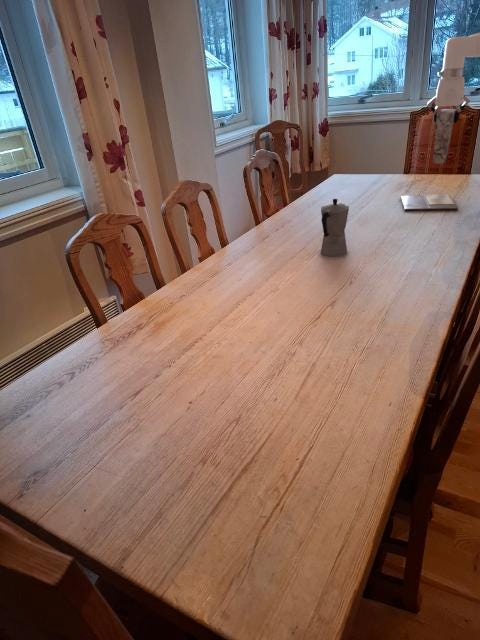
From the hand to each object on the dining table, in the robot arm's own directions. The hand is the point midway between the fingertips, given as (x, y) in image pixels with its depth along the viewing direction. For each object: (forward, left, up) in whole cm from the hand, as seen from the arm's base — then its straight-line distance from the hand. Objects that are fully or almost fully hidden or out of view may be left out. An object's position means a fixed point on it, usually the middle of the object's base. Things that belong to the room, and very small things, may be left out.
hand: (445, 122), depth 178 cm
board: (+5, +14, -30) cm, 33 cm away
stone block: (0, 0, -15) cm, 15 cm away
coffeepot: (+42, +70, -30) cm, 86 cm away
